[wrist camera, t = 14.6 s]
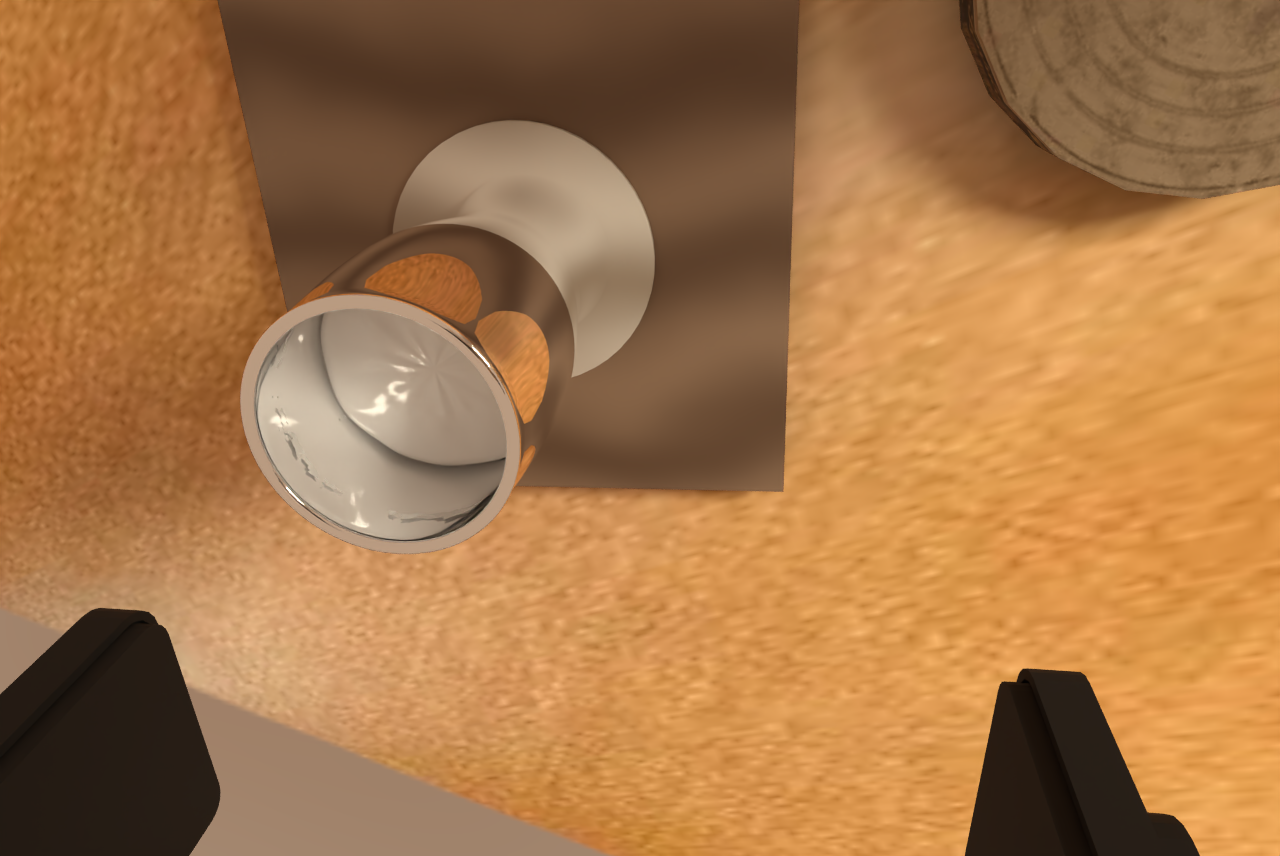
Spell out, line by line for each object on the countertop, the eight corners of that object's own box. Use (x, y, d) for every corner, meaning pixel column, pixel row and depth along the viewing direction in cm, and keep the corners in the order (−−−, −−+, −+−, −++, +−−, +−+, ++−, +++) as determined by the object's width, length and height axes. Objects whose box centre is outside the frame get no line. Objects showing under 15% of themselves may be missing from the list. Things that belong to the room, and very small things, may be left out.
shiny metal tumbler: (438, 151, 32) (210, 267, 19) (629, 171, 32) (533, 305, 18) (441, 332, 35) (247, 542, 22) (615, 353, 35) (525, 581, 22)
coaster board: (234, -24, 32) (205, -25, 31) (798, -53, 30) (801, -55, 28) (339, 465, 41) (321, 486, 39) (782, 474, 39) (783, 496, 37)
